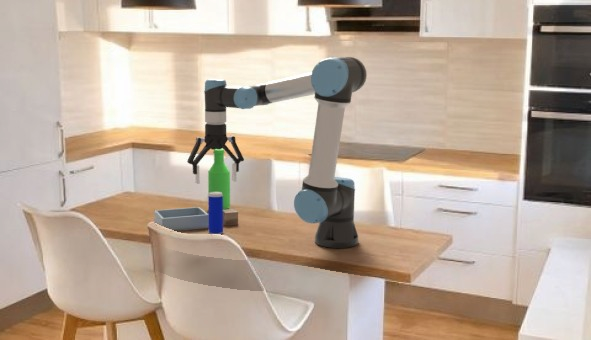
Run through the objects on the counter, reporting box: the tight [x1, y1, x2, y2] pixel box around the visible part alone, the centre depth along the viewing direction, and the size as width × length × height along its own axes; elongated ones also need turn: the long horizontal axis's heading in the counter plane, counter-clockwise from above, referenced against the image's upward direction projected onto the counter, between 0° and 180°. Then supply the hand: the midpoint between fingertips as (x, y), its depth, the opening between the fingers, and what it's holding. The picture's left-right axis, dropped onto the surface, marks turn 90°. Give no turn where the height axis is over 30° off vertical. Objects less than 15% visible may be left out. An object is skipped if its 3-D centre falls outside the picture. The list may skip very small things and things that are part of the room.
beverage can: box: [207, 192, 224, 235], centre depth 270 cm, size 5×5×15 cm
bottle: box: [207, 148, 231, 210], centre depth 306 cm, size 9×9×25 cm
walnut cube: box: [223, 208, 239, 227], centre depth 285 cm, size 5×5×5 cm
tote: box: [153, 206, 209, 232], centre depth 281 cm, size 14×18×5 cm
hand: (216, 182), depth 268 cm, fingers open, 13 cm apart
